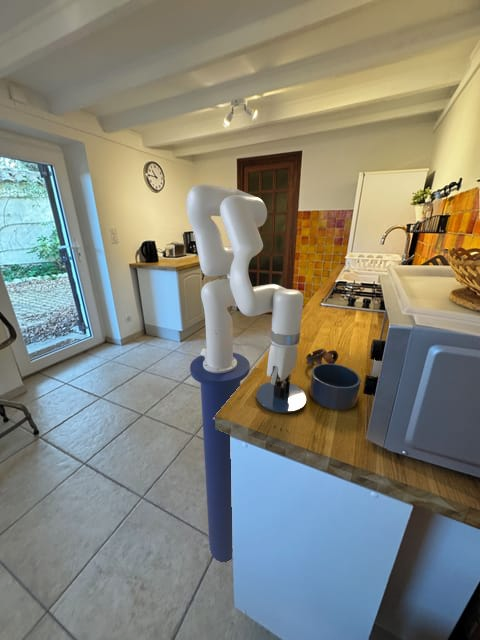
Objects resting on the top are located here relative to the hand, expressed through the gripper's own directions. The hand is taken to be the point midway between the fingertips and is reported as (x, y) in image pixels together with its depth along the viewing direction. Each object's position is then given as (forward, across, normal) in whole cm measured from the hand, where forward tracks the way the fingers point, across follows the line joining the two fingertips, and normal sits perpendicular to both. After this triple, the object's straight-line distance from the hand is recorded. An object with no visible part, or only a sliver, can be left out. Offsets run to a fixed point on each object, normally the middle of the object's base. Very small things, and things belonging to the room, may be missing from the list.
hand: (281, 394), depth 73 cm
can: (+2, -23, +24) cm, 33 cm away
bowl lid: (+1, 0, 0) cm, 1 cm away
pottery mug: (+2, -24, +5) cm, 25 cm away
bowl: (+1, -10, +12) cm, 16 cm away
